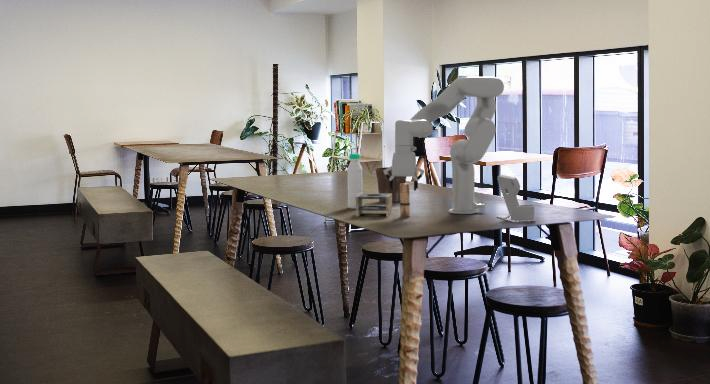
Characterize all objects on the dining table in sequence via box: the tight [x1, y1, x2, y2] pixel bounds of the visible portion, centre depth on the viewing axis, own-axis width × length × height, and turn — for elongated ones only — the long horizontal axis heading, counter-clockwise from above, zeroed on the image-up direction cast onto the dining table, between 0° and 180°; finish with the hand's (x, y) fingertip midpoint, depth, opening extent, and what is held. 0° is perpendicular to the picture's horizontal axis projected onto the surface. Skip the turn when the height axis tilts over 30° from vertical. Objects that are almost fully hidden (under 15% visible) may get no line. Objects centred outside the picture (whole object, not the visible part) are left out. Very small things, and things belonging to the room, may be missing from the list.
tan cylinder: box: [399, 182, 411, 218], centre depth 353 cm, size 4×4×14 cm
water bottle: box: [346, 153, 364, 210], centre depth 385 cm, size 7×7×25 cm
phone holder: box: [496, 174, 535, 221], centre depth 340 cm, size 17×10×18 cm, turn 15°
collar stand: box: [355, 193, 393, 218], centre depth 362 cm, size 14×12×8 cm
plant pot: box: [374, 166, 407, 204], centre depth 406 cm, size 16×16×16 cm
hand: (403, 190), depth 353 cm, fingers open, 9 cm apart
